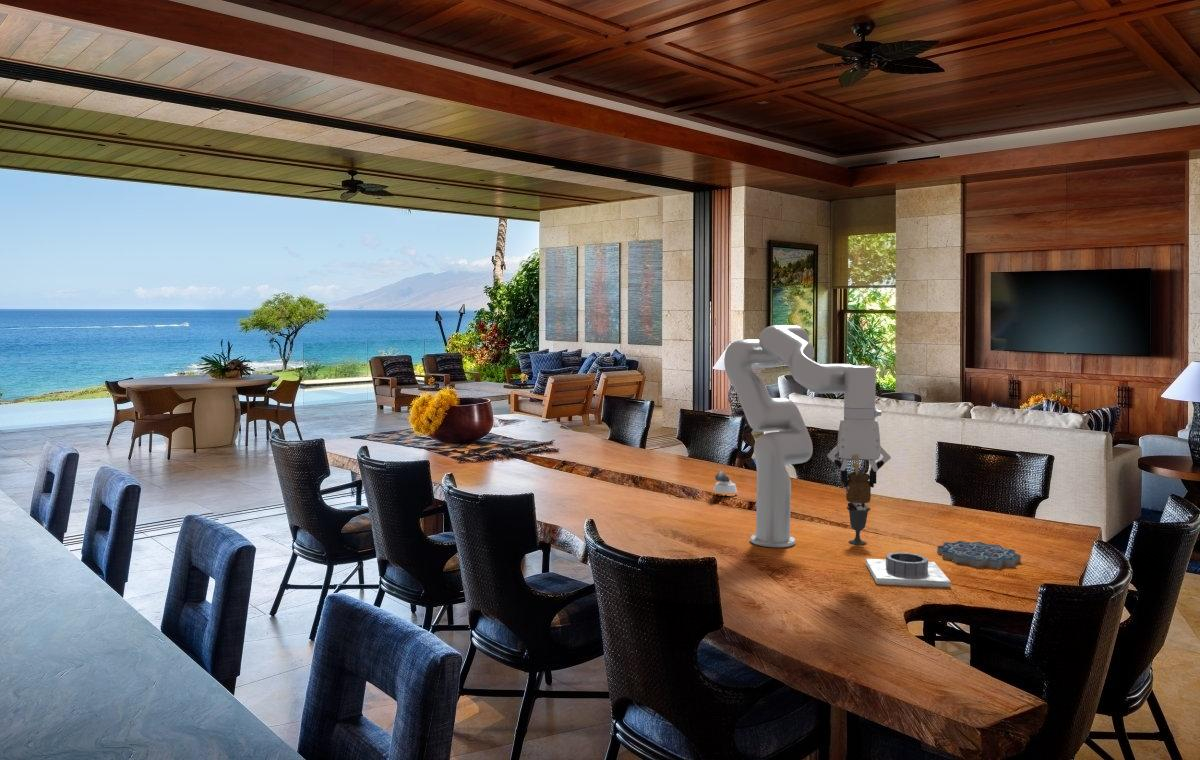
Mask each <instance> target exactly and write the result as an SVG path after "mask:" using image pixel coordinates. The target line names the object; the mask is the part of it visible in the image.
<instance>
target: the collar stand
mask: <svg viewBox="0 0 1200 760" xmlns="http://www.w3.org/2000/svg"><path fill="white" fill-rule="evenodd" d="M865 566H866V567H867V569H868V571H869V573H870V574H871V576H872V578H873V580H874V582H875V584H877V585H888V586H889V585H890V586H906V587H907V586H908V587H927V588H928V587H929V588H943V587H950V588H949V589H951V588H952V581H951V580H950V579H949V578H948V577H947V575H946V574H945V573H944V571H943V570H942V569H941V568H940V567H939V566H938V565H937V563H936V562H935V561H929V559H928V558H927V557H926V556H923V555H921V554H917V553H911V552H898V551H897V552H890V553H887V554H886V555H885V559H882V558H865Z"/></svg>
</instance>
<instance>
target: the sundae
mask: <svg viewBox="0 0 1200 760" xmlns="http://www.w3.org/2000/svg"><path fill="white" fill-rule="evenodd" d="M868 506H869V505H868V503H852V502H848V503H847V506H846V509H847V510H848V514H849V521H850V522H849V524H850V527H851V528H852V530H854V531H855V537H854V539H851V540H848V543H849V544H850V545H855V546H865V545H867V542H866V541H863V540H862V539H861V531H863V530H864V529H865V527H866V525H867V524H866V523H867V520H868V513H869V512H870V511H871V508H870V507H868Z"/></svg>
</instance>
